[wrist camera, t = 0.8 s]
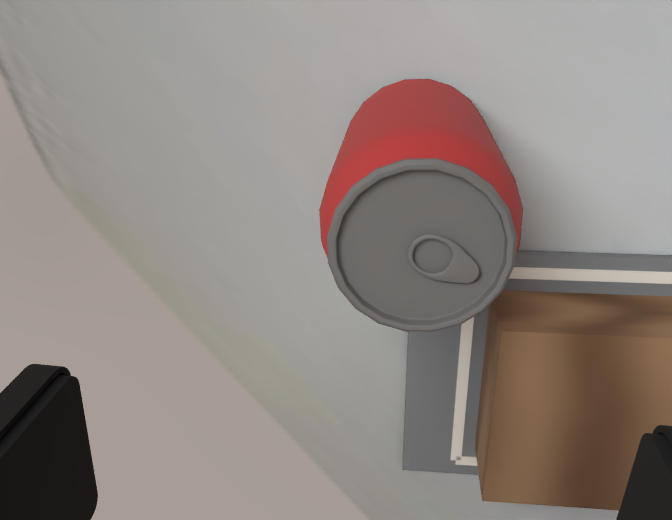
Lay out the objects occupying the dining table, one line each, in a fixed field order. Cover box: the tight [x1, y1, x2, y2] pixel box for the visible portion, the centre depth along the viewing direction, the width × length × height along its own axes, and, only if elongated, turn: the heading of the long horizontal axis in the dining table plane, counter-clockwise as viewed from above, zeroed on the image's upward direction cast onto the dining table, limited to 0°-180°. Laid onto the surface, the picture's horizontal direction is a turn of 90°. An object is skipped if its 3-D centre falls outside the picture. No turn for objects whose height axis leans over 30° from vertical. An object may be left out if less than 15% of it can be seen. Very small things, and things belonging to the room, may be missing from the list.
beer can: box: [319, 79, 523, 332], centre depth 24 cm, size 7×7×12 cm
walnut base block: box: [475, 290, 672, 510], centre depth 31 cm, size 10×10×4 cm
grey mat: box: [403, 251, 672, 475], centre depth 33 cm, size 18×14×1 cm
